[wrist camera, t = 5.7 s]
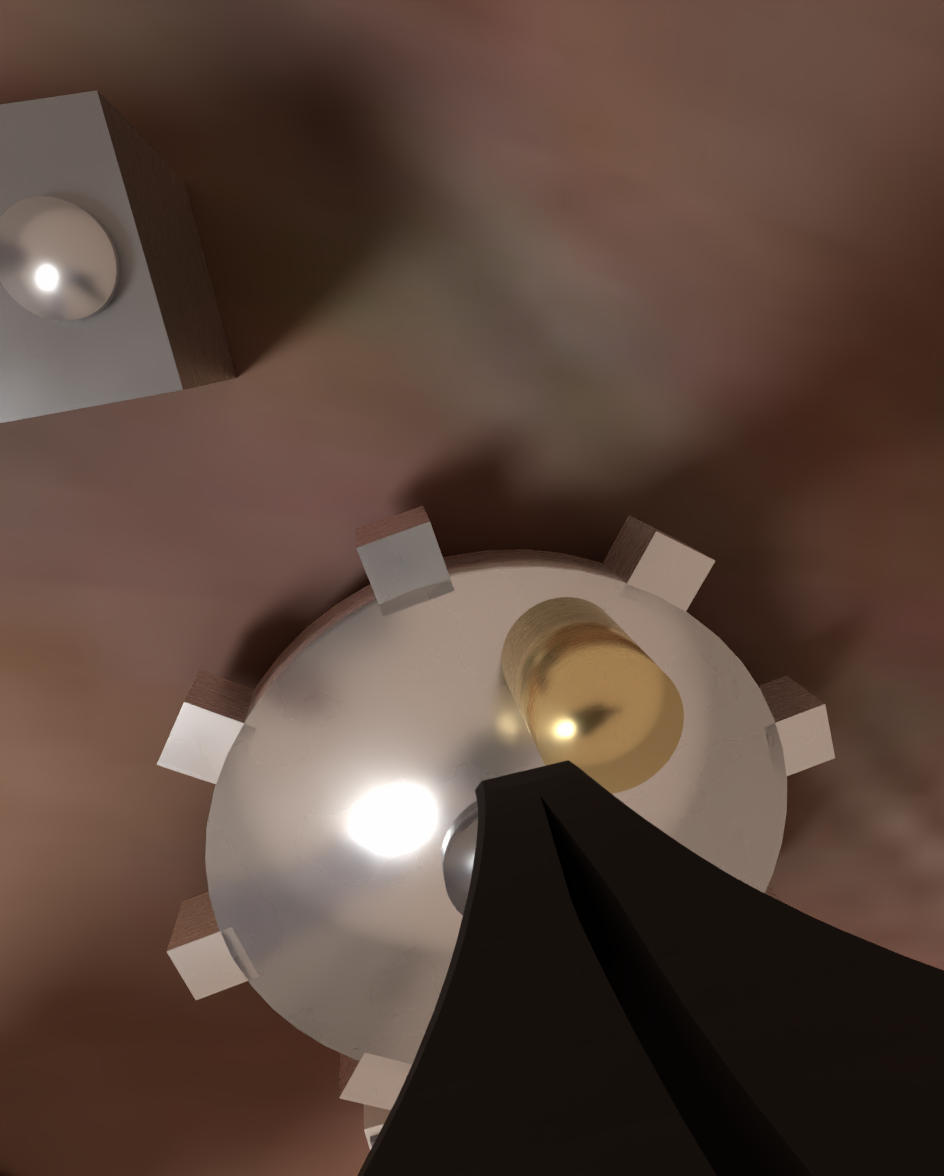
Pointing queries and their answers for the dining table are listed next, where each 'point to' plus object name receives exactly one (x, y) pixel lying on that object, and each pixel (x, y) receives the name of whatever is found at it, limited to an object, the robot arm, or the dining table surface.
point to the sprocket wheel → (458, 766)
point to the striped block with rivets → (97, 264)
